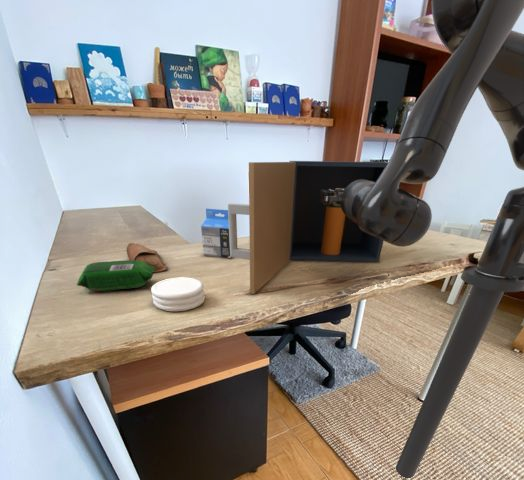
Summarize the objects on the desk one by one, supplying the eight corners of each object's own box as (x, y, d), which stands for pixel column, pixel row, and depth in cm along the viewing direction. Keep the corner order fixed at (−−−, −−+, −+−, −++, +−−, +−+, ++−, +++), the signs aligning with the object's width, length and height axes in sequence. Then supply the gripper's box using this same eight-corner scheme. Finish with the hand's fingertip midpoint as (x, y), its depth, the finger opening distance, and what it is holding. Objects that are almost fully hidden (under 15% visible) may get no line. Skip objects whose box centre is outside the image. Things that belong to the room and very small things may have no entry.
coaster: (176, 317, 53) (173, 299, 51) (143, 303, 58) (139, 286, 56) (215, 300, 60) (213, 283, 58) (183, 288, 65) (180, 273, 63)
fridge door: (227, 289, 64) (220, 161, 51) (268, 258, 85) (270, 161, 72) (254, 293, 63) (253, 162, 50) (289, 261, 83) (295, 161, 70)
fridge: (378, 262, 84) (401, 162, 70) (287, 260, 84) (293, 161, 71) (362, 246, 99) (378, 162, 85) (284, 245, 99) (289, 160, 86)
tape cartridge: (203, 255, 87) (198, 210, 80) (209, 252, 90) (205, 208, 83) (230, 258, 85) (228, 212, 78) (235, 255, 88) (234, 210, 81)
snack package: (157, 289, 64) (152, 266, 62) (78, 295, 61) (70, 270, 58) (158, 279, 70) (154, 257, 67) (87, 283, 67) (80, 260, 64)
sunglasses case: (168, 268, 75) (150, 247, 70) (146, 285, 74) (127, 265, 70) (157, 251, 88) (141, 232, 84) (138, 266, 88) (121, 247, 84)
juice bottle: (343, 253, 87) (352, 197, 79) (330, 256, 85) (338, 198, 77) (330, 249, 91) (337, 195, 83) (316, 251, 89) (323, 196, 80)
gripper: (405, 180, 56) (378, 176, 69) (330, 180, 56) (318, 175, 70) (395, 223, 60) (372, 210, 73) (325, 222, 60) (315, 210, 74)
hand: (346, 193), depth 72 cm, fingers open, 8 cm apart
